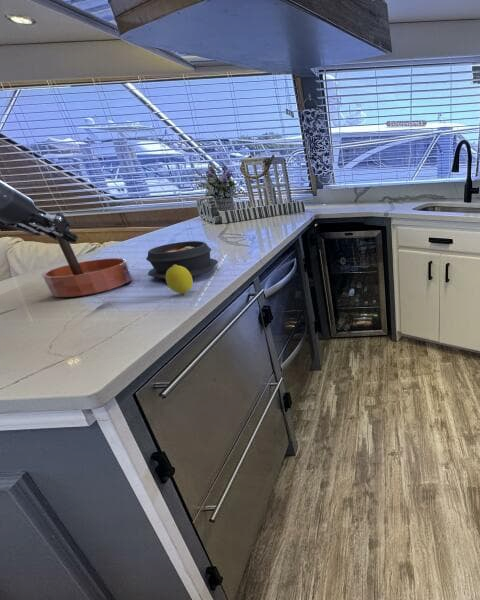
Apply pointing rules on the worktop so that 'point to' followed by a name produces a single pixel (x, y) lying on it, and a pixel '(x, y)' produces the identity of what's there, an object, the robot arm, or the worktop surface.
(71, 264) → the muddler
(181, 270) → the lemon
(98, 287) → the bowl
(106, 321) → the worktop surface
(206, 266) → the casserole
